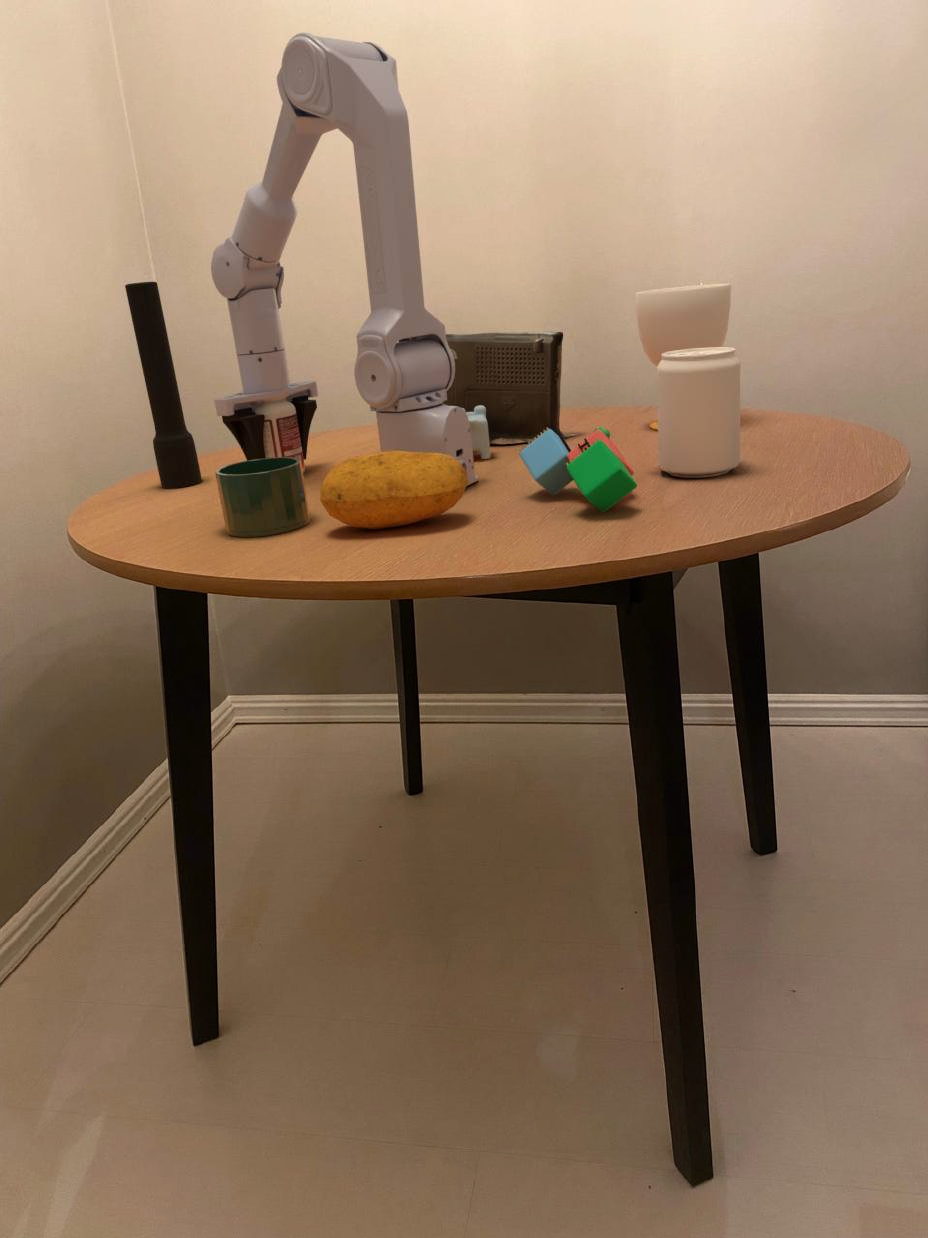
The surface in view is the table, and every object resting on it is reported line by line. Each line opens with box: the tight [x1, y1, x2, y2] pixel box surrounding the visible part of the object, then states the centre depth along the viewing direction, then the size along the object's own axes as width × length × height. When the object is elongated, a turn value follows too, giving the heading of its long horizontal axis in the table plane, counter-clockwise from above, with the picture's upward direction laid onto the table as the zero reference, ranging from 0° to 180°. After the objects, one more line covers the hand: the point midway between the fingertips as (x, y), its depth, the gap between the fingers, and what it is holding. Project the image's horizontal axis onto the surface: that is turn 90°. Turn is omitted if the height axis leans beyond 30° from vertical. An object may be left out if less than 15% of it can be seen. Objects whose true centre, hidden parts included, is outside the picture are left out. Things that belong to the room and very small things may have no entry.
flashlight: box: [124, 281, 203, 489], centre depth 115 cm, size 5×24×5 cm
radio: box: [398, 330, 579, 445], centre depth 124 cm, size 23×9×15 cm, turn 60°
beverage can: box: [656, 346, 741, 479], centre depth 95 cm, size 8×8×12 cm
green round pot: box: [214, 457, 311, 538], centre depth 92 cm, size 8×8×6 cm
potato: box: [319, 450, 468, 530], centre depth 87 cm, size 8×14×7 cm, turn 89°
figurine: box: [462, 406, 491, 460], centre depth 116 cm, size 4×8×6 cm, turn 4°
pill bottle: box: [251, 395, 306, 474], centre depth 115 cm, size 6×6×11 cm
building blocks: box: [518, 426, 638, 513], centre depth 89 cm, size 8×8×12 cm
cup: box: [634, 283, 732, 431], centre depth 121 cm, size 12×12×17 cm
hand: (279, 464), depth 117 cm, fingers closed on pill bottle, 6 cm apart
